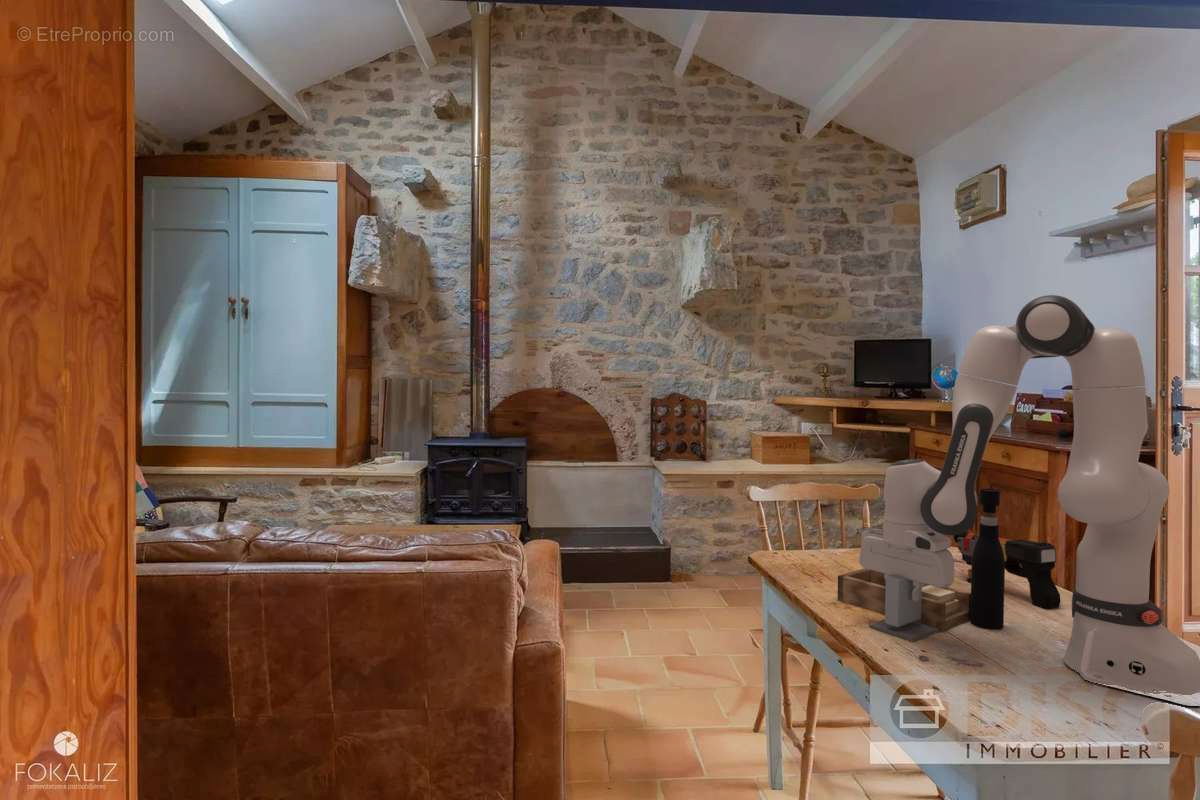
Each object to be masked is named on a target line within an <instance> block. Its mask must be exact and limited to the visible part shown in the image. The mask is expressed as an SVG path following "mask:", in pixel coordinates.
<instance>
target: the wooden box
mask: <svg viewBox="0 0 1200 800" xmlns="http://www.w3.org/2000/svg"><path fill="white" fill-rule="evenodd" d="M926 586H929V584H924V587H926ZM931 586H933V585H931ZM935 587H936V586H935ZM939 588H940V587H939ZM942 589H946V590H950V591H953V592H955V599H956V600H959V611H958V613H956V614H953V615H950V616H948V617H945V614H946V603H945V602H941V601H937V600H933V599H930V598H926V597H922V599H921V619H918V620H916V621H914V622H917V623H921V624H924V625H927V626H931V627H934V628H937V629H938V632H944V631H947V630H949V629H951V628H954V627H956V626H959V625H962V624H964V623H966V622H968V621H970V614H971V591H970V592H969V591H965V590H962V589H956V588H953V587H950V586H948V587H945V588H942ZM885 593H886V580H885V578H884V573H882V572H878V571H874V570H870V569H867V568H862V569H858V570H854V571H851V572H847V573H843V574H839V575H837V601H839V602H844V603H846V602H847V603H846V604H849V603H850V604H849V605H853V606H856V605H857V606H856V607H859V606H860V608H862V607H863V609H866V610H870V611H873V612H876V613H878V614H882V615H885Z"/></svg>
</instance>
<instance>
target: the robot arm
mask: <svg viewBox="0 0 1200 800" xmlns="http://www.w3.org/2000/svg"><path fill="white" fill-rule="evenodd" d="M1140 351H1141V350H1140V349H1139V346H1138V343H1137V340H1136V338H1135V337H1134V336H1133V335H1132V334H1131V333H1130V332H1128V331H1126V330H1122V329H1119V328H1113V327H1112V328H1111V327H1108V328H1107V327H1104V328H1099V327H1098V328H1097V327H1096V328H1095V326H1094V324H1093V323H1092V321H1091V320H1090V319H1089V318H1088V317H1087V315H1086V314H1085V313H1084V311H1083V310H1082V309H1081V308H1080V307H1079V305H1077V303H1075V302H1074V301H1072V300H1071V299H1069V298H1067V297H1065V296H1061V295H1054V294H1052V295H1051V294H1049V295H1048V294H1047V295H1043V296H1039V297H1036V298H1034V299H1032V300H1030V301H1029V302H1027V303H1026V304H1025V305H1024V306H1023V307H1022V309H1021V310H1020V311H1019V313H1018V316H1017V318H1016V322H1015V324H1013V325H1010V326H1005V325H998V324H997V325H994V324H993V325H987V326H984V327H982V328H979V329H978V330H977V331H976V332H975V333H973V336H972V337H971V339H970V341H969V343H968V345H967V348H966V349H965V351H964V354H963V357H962V359H961V362H960V365H959V367H958V372H957V375H956V378H955V383H954V388H953V392H952V393H953V394H952V395H953V396H952V404H951V405H952V408H951V409H952V410H951V411H952V427H951V428H952V429H951V430H952V431H951V437H950V441H949V443H948V448H947V451H946V454H945V457H944V461H943V465H942V468H941V470H939V469H937V468H935V467H933V466H932V465H930V464H929V463H928V462H926V460H922V459H919V458H910V459H903V460H897V461H895V462H892V463H891V464H890V465H889V466H888V467H887V468H886V471H885V477H884V486H883V487H884V488H883V502H884V507H885V511H884V514H883V517H882V519H883V520H882V521H883V522H882V523H883V524H882V526H883V527H882V529H881V528H875V527H871V526H868V527H867V528H865V529H863V530H862V531H861V544H860V550H859V559H858V562H859V564H860V566H861V567H862V569H864V568H867V569H870V570H874V571H878V572H882V573H884V578H885V580H886V577H887V576H891V575H896V576H900V577H904V578H906V579H909V580H913V585H914V586H915V588H914V590H912V591H909V592H908V599H909V600H912V601H918V600H919V592H920V591H921V589H922V588H923V587H924V584H929V585H933V586H936V587H940V588H945V587H950V586H952V584H953V583H954V582H955V562H954V556H953V554H952V552H951V551H950V550H949V549H950V548H951V546H952V539H951V538H949V536H953V535H959V534H962V533H964V532H968V531H970V529H971V528H973V527H974V525H975V523H976V521H977V518H978V498H979V497H978V493H977V491H976V490H975V488H976V483H977V478H978V475H979V471H980V468H981V465H982V461H983V457H984V455H985V452H986V448H987V446H988V444H989V441H990V439H991V437H992V435H993V434H994V432H995V431H996V430H997V428H998V426H1000V424H1001V423H1002V421H1003V419H1004V418H1005V416H1006V415H1007V412H1008V411H1009V409H1010V407H1011V404H1012V402H1013V400H1014V397H1015V395H1016V392H1017V389H1018V385H1019V382H1020V378H1021V375H1022V372H1023V370H1024V367H1025V366H1026V364H1027V362H1029V360H1031V359H1043V358H1044V359H1045V358H1057V357H1063V359H1065V360H1066V361H1067V363H1068V366H1069V368H1070V371H1071V386H1072V388H1071V389H1072V405H1073V409H1072V410H1073V439H1072V443H1071V448H1070V449H1071V450H1070V454H1069V458H1068V465H1067V469H1066V471H1065V472H1066V473H1065V475H1064V476H1063V479H1062V480H1061V481H1060V483H1059V486H1058V488H1057V499H1058V503H1059V505H1060V507H1061V508H1062V510H1063V511H1064V512H1065V513H1066V515H1067V516H1069V517H1070V518H1072V519H1074V520H1075V521H1078V522H1081V523H1085V524H1087V525H1086V529H1085V532H1084V534H1083V537H1082V539H1081V541H1080V542H1079V544H1078V546H1077V549H1076V559H1075V562H1076V563H1075V564H1076V565H1075V588H1073V589H1072V596H1071V613H1072V614H1071V617H1072V618H1073V620H1072V626H1071V633H1070V638H1069V642H1068V645H1067V649H1066V651H1065V653H1064V656H1063V659H1062V660H1064V661H1063V663H1064V662H1065V663H1066V664H1067V665H1068V666H1070V667H1072V668H1073V669H1074V670H1076V671H1078V672H1079V673H1080V675H1081V676H1082V677H1083V678H1084V679H1086V680H1088V681H1091V682H1096V683H1101V684H1106V685H1118V686H1121V687H1125V688H1127V689H1130V690H1136V691H1142V692H1147V693H1153V694H1160V693H1163V692H1159V691H1166V692H1164V693H1173V694H1181V695H1192V694H1195V693H1198V692H1199V693H1200V658H1199V655H1198V653H1196V651H1195V650H1194V649H1193V648H1191V647H1190V646H1189V645H1188V644H1186V643H1185V642H1184V641H1183V640H1181V639H1180V638H1179V637H1178V636H1176V635H1175V634H1174V633H1173V632H1172V631H1171V630H1170V629H1168V628H1167V627H1166V626H1165V625H1163V624H1162V622H1163V621H1162V620H1163V613H1164V612H1165V611H1164V609H1165V607H1164V606H1163V605H1161V606H1160V607H1158V606H1157V605H1156V604H1155V603H1154V602H1152V601H1151V600H1150V597H1149V595H1150V578H1151V577H1150V575H1151V574H1150V573H1151V571H1150V570H1151V560H1152V559H1151V558H1152V552H1153V549H1154V544H1155V540H1156V538H1157V533H1158V529H1159V524H1160V520H1161V516H1162V510H1163V508H1164V506H1165V504H1166V502H1167V500H1168V499H1169V495H1170V485H1169V482H1168V480H1167V478H1166V477H1165V475H1164V474H1163V473H1162V472H1161V471H1160V470H1158V469H1157V468H1156V467H1154V466H1151V465H1150V464H1147V463H1143V462H1139V459H1140V456H1141V455H1140V454H1141V451H1142V450H1141V448H1142V444H1143V442H1144V438H1145V436H1146V435H1147V433H1148V429H1149V425H1148V410H1147V409H1148V407H1147V404H1148V403H1147V394H1146V393H1147V392H1146V391H1147V390H1146V378H1145V377H1146V376H1145V370H1144V364H1143V359H1142V355H1141V352H1140ZM1065 663H1064V664H1065ZM1066 664H1065V665H1066ZM1067 665H1066V666H1067ZM1068 666H1067V667H1068ZM1074 670H1073V671H1074ZM1076 671H1075V672H1076ZM1079 673H1078V674H1079ZM1080 675H1079V676H1080ZM1081 676H1080V677H1081ZM1082 677H1081V678H1082ZM1083 678H1082V679H1083ZM1084 679H1083V680H1084ZM1088 681H1087V682H1088ZM1091 682H1090V683H1091ZM1154 691H1156V692H1154ZM1164 696H1166V697H1172V696H1171V695H1164Z"/></svg>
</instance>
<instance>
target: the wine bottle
mask: <svg viewBox="0 0 1200 800" xmlns="http://www.w3.org/2000/svg"><path fill="white" fill-rule="evenodd" d="M1000 496H1001V491H1000V490H999V489H996V488H980V489H979V505H981V506H982V512H981V513H982V515H981V516H980V523H979V525H978V526H979V527H978V534H979V537H978V540H977V542H976V544H975V547H974V550H973V555H972V566H971V568H970V569H971V583H970V593H971V614H970V620H969V621H970V623H971V625H972V626H976V627H977V628H980V629H986V630H992V631H993V630H1001V629H1004V622H1005V621H1004V619H1005V618H1004V617H1005V616H1004V615H1005V581H1006V580H1005V578H1006V577H1005V576H1006V573H1005V572H1006V569H1005V559H1004V554H1003V549H1002V546H1001V543H1000V541H999V538H1000V537H999V535H1000V533H999V532H1000V531H999V530H1000V529H999V528H1000V527H999V526H1000V525H999V522H998V520H999V519H998V516H997V507H998V506H1000V505H1001V503H1000V501H1001V500H1000V499H1001V497H1000Z"/></svg>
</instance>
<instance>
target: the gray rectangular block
mask: <svg viewBox="0 0 1200 800" xmlns="http://www.w3.org/2000/svg"><path fill="white" fill-rule="evenodd" d="M914 588H915V586H914V585H913V580H909V579H906V578H904V577H900V576H896V575H891V576H887V577H886V593H885V614H884V615H885V616H884V619H885V623H887V624H890V625H893V626H896V627H900V626H902V625H905V624H908V623H910V622H913V621H916V620H918V619H921V599H922V589H921V591H920V592H919V600H918V601H912V600H909V599H908V592H909V591H912V590H914Z"/></svg>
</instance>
